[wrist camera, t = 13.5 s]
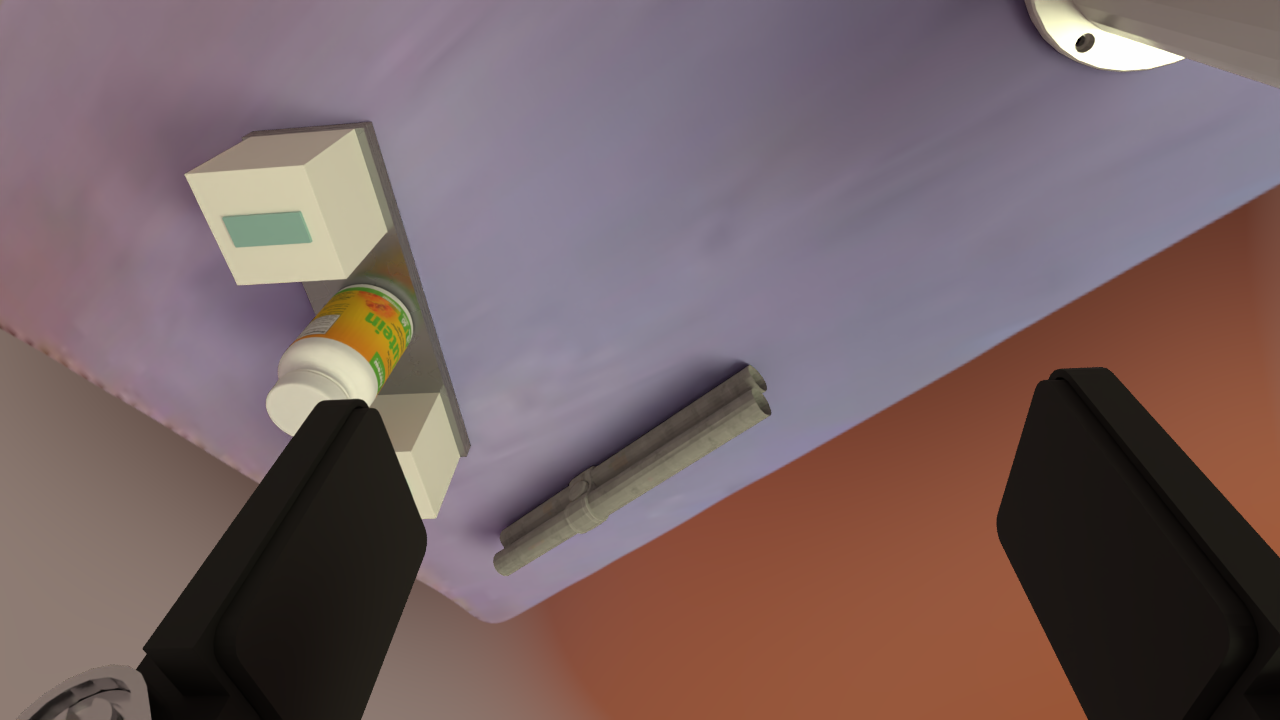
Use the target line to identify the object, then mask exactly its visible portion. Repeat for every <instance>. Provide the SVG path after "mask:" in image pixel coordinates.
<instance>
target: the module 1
mask: <svg viewBox="0 0 1280 720" xmlns="http://www.w3.org/2000/svg"><path fill="white" fill-rule="evenodd" d="M184 175H185V177H186V179H187V181H188V183H189V185H190V187H191V189H192V191H193V193H194V195H195V197H196V200H197V202H198V204H199V206H200V208H201V210H202V212H203V214H204V216H205V218H206V220H207V222H208V225H209V227H210V229H211V231H212V233H213V235H214V237H215V239H216V241H217V243H218V245H219V248H220V250H221V252H222V254H223V256H224V258H225V260H226V262H227V264H228V266H229V268H230V270H231V273H232V275H233V277H234V279H235V281H236V283H237V285H253V284H270V283H286V282H303V281H320V280H337V279H347V278H348V277H349V275H350V274H351V273H352V272H353V271H354V270H355V268H356V267H357V266H358V265H359V264H360V263H361V262H362V260H363V259H364V258H365V257H366V256H367V255H368V253H369V252H370V251H371V250H372V249H373V248H374V246H375V245H376V244H377V243H378V242H379V241H380V240H381V238H382V237H383V236H384V235H385V234H386V233H387V228H386V225H385V222H384V219H383V216H382V213H381V210H380V207H379V203H378V200H377V197H376V194H375V191H374V188H373V185H372V182H371V179H370V175H369V172H368V169H367V166H366V163H365V160H364V157H363V154H362V151H361V148H360V144H359V141H358V138H357V135H356V132H355V129H343V130H331V131H318V132H306V133H293V134H281V135H269V136H256V137H249V138H247V139H246V140H244V141H242V142H240V143H239V144H237V145H235V146H233V147H232V148H230V149H228V150H226V151H224V152H223V153H221V154H219V155H217V156H216V157H214V158H212V159H210V160H209V161H207V162H205V163H203V164H202V165H200V166H198V167H196V168H194V169H193V170H191V171H189V172H187V173H186V174H184Z"/></svg>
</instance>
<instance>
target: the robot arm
mask: <svg viewBox="0 0 1280 720" xmlns="http://www.w3.org/2000/svg"><path fill="white" fill-rule="evenodd" d="M1024 1H1025V4H1026V7H1027V10H1028V13H1029V16H1030V18H1031V20H1032V22H1033V24H1034V25H1035V27H1036V28H1037V30H1038V31H1039V33H1040V34H1041V36H1042V37H1043V39H1045V40H1046V41H1047V42H1048V43H1049V44H1050V45H1051V46H1052V47H1053V48H1055V49H1056V50H1057V51H1058V52H1059V53H1061V54H1063V55H1065V56H1067V57H1068V58H1070V59H1072V60H1074V61H1076V62H1078V63H1081V64H1084V65H1087V66H1090V67H1093V68H1095V69H1099V70H1107V71H1116V72H1130V71H1143V70H1150V69H1154V68H1158V67H1161V66H1165V65H1169V64H1173V63H1176V62H1178V61H1181V60H1183V59H1185V58H1187V59H1190V60H1194V61H1197V62H1200V63H1203V64H1206V65H1209V66H1212V67H1215V68H1218V69H1221V70H1224V71H1227V72H1230V73H1233V74H1236V75H1239V76H1242V77H1245V78H1249V79H1252V80H1255V81H1258V82H1261V83H1264V84H1267V85H1270V86H1273V87H1276V88H1279V89H1280V0H1024ZM1079 37H1081V40H1080V42H1079V43H1078V44H1077V45H1075V44H1076V42H1077V40H1078V38H1079ZM997 532H998V536H999V539H1000V542H1001V544H1002V546H1003V548H1004V550H1005V552H1006V554H1007V556H1008V558H1009V560H1010V563H1011V565H1012V567H1013V569H1014V571H1015V573H1016V574H1017V577H1018V578H1019V581H1020V583H1021V585H1022V587H1023V589H1024V591H1025V593H1026V595H1027V597H1028V599H1029V601H1030V603H1031V605H1032V607H1033V609H1034V611H1035V613H1036V615H1037V617H1038V619H1039V621H1040V623H1041V625H1042V627H1043V629H1044V631H1045V633H1046V635H1047V637H1048V639H1049V641H1050V643H1051V645H1052V647H1053V650H1054V651H1055V654H1056V656H1057V658H1058V660H1059V662H1060V664H1061V666H1062V668H1063V670H1064V672H1065V674H1066V676H1067V678H1068V680H1069V682H1070V684H1071V686H1072V688H1073V690H1074V692H1075V694H1076V696H1077V698H1078V700H1079V702H1080V704H1081V706H1082V708H1083V710H1084V712H1085V714H1086V716H1087V718H1088V720H1280V558H1279V556H1277V554H1276V553H1275V552H1274V551H1273V550H1272V549H1271V548H1270V546H1269V545H1267V543H1266V542H1265V541H1264V540H1263V539H1262V538H1261V537H1260V535H1259V534H1258V533H1257V532H1256V531H1255V530H1254V529H1253V528H1252V527H1251V525H1250V524H1249V523H1248V522H1247V521H1246V520H1245V519H1244V518H1243V517H1242V515H1241V514H1240V513H1239V512H1238V511H1237V510H1236V509H1235V508H1234V507H1233V506H1232V504H1231V503H1230V502H1229V501H1228V500H1227V499H1226V498H1225V497H1224V496H1223V494H1222V493H1221V492H1220V491H1219V490H1218V489H1217V488H1216V487H1215V486H1214V485H1213V484H1212V482H1211V481H1210V480H1209V479H1208V478H1207V477H1206V476H1205V475H1204V473H1203V472H1202V471H1201V470H1200V469H1199V468H1198V467H1197V466H1196V465H1195V463H1194V462H1193V461H1192V460H1191V459H1190V458H1189V457H1188V456H1187V455H1186V453H1185V452H1184V451H1183V450H1182V449H1181V448H1180V447H1179V446H1178V445H1177V444H1176V442H1175V441H1174V440H1173V439H1172V438H1171V437H1170V436H1169V435H1168V434H1167V433H1166V431H1165V430H1164V429H1163V428H1162V427H1161V426H1160V425H1159V424H1158V423H1157V421H1156V420H1155V419H1154V418H1153V417H1152V416H1151V415H1150V414H1149V413H1148V411H1147V410H1146V409H1145V408H1144V407H1143V406H1142V405H1141V404H1140V403H1139V401H1138V400H1137V399H1136V398H1135V397H1134V396H1133V395H1132V394H1131V393H1130V391H1129V390H1128V389H1127V388H1126V387H1125V386H1124V385H1123V384H1122V383H1121V382H1120V381H1119V379H1118V378H1117V377H1116V376H1115V375H1114V374H1113V373H1112V372H1111V371H1110V370H1108V369H1107V368H1103V367H1092V368H1069V369H1058V370H1055V371H1054V372H1053V373H1052V374H1051V375H1050V377H1049V379H1048V380H1043V381H1040V382H1039V383H1038V384H1037V386H1036V389H1035V392H1034V395H1033V398H1032V402H1031V405H1030V408H1029V412H1028V415H1027V418H1026V422H1025V425H1024V428H1023V432H1022V435H1021V438H1020V442H1019V445H1018V448H1017V451H1016V455H1015V459H1014V461H1013V465H1012V468H1011V471H1010V475H1009V478H1008V481H1007V485H1006V488H1005V491H1004V495H1003V498H1002V502H1001V505H1000V508H999V511H998V515H997ZM426 546H427V534H426V530H425V527H424V524H423V522H422V519H421V517H420V514H419V511H418V509H417V506H416V504H415V501H414V499H413V496H412V494H411V491H410V489H409V486H408V483H407V481H406V478H405V476H404V473H403V471H402V468H401V466H400V463H399V461H398V458H397V455H396V453H395V450H394V448H393V445H392V443H391V440H390V438H389V435H388V432H387V430H386V427H385V425H384V422H383V420H382V417H381V415H380V413H379V411H378V410H377V409H375V408H369V406H368V404H367V403H366V402H365V401H364V400H362V399H340V400H323V401H321V402H319V403H318V404H317V405H316V406H315V407H314V408H313V410H312V411H311V413H310V414H309V415H308V417H307V418H306V420H305V421H304V422H303V424H302V425H301V427H300V428H299V429H298V431H297V432H296V434H295V435H294V436H293V438H292V439H291V441H290V442H289V443H288V445H287V446H286V448H285V449H284V450H283V452H282V453H281V455H280V456H279V457H278V459H277V460H276V462H275V463H274V464H273V466H272V467H271V469H270V470H269V472H268V473H267V474H266V476H265V477H264V479H263V480H262V481H261V483H260V484H259V486H258V487H257V489H256V490H255V491H254V493H253V494H252V495H251V497H250V498H249V500H248V501H247V503H246V504H245V505H244V507H243V508H242V510H241V511H240V512H239V514H238V515H237V517H236V518H235V519H234V521H233V522H232V524H231V525H230V526H229V528H228V530H227V531H226V532H225V533H224V535H223V536H222V538H221V539H220V540H219V542H218V543H217V545H216V546H215V548H214V549H213V550H212V552H211V553H210V555H209V556H208V557H207V559H206V560H205V561H204V563H203V564H202V566H201V567H200V569H199V570H198V571H197V573H196V574H195V576H194V577H193V579H192V580H191V581H190V583H189V584H188V585H187V587H186V588H185V590H184V591H183V592H182V594H181V595H180V597H179V598H178V600H177V601H176V602H175V604H174V605H173V606H172V608H171V609H170V611H169V612H168V613H167V615H166V616H165V618H164V619H163V621H162V622H161V623H160V625H159V626H158V627H157V629H156V630H155V632H154V633H153V635H152V636H151V637H150V639H149V640H148V642H147V643H146V644H145V646H144V647H143V650H144V651H145V652H146V653H147V655H146V656H145V658H144V659H143V660H142V662H141V663H140V665H139V666H138V667H137V669H136V670H135V669H133V668H132V667H130V666H123V665H108V666H103V667H98V668H93V669H90V670H88V671H85V672H83V673H81V674H78V675H76V676H73V677H71V678H69V679H67V680H65V681H64V682H62V683H61V684H59V685H57V686H56V687H54V688H52V689H51V690H50V691H48V692H46V693H44V694H43V695H42V696H41V697H40V698H39V699H38V700H36V701H35V702H34V703H33V704H31V705H30V706H29V707H28V708H27V709H25V710H24V711H23V712H22V713H21V714H20V715H19V717H18V718H17V719H16V720H361V718H362V716H363V713H364V710H365V708H366V705H367V703H368V700H369V697H370V695H371V692H372V690H373V687H374V684H375V682H376V679H377V677H378V674H379V671H380V669H381V666H382V664H383V661H384V658H385V656H386V653H387V651H388V648H389V646H390V643H391V640H392V638H393V635H394V633H395V630H396V627H397V625H398V622H399V620H400V617H401V615H402V612H403V609H404V607H405V604H406V602H407V599H408V596H409V594H410V591H411V589H412V586H413V583H414V581H415V578H416V576H417V573H418V571H419V568H420V565H421V563H422V560H423V558H424V555H425V552H426Z"/></svg>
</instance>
